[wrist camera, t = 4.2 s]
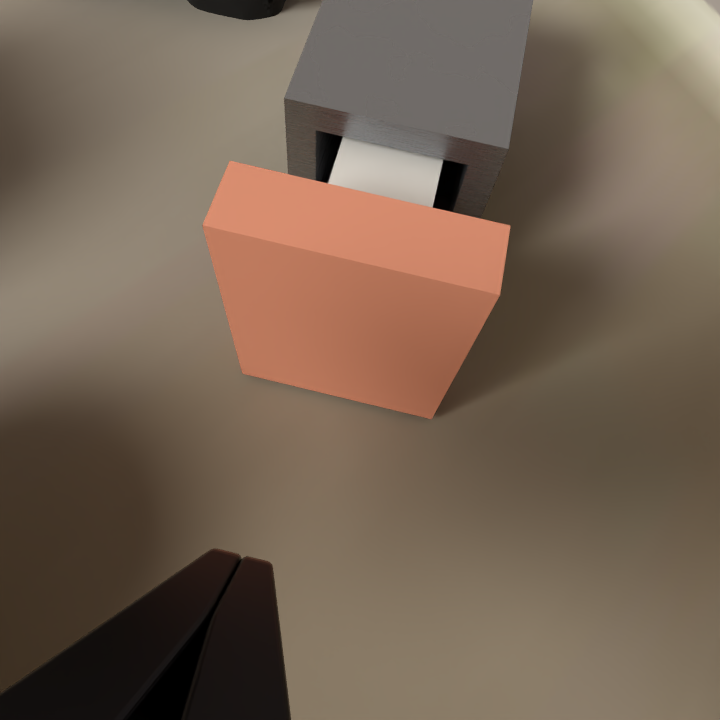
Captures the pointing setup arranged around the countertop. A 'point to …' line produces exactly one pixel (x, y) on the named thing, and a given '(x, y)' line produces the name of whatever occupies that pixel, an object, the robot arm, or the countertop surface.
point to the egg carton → (240, 8)
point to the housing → (411, 88)
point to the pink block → (354, 276)
